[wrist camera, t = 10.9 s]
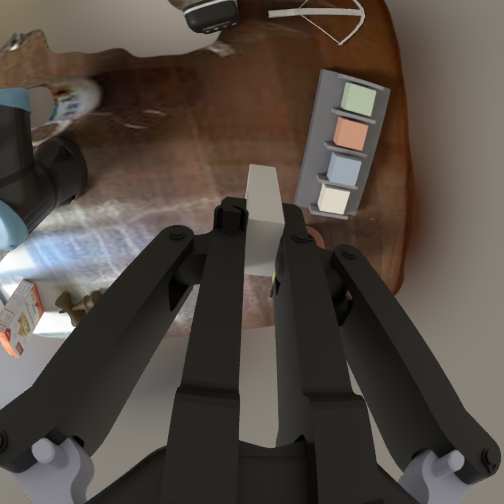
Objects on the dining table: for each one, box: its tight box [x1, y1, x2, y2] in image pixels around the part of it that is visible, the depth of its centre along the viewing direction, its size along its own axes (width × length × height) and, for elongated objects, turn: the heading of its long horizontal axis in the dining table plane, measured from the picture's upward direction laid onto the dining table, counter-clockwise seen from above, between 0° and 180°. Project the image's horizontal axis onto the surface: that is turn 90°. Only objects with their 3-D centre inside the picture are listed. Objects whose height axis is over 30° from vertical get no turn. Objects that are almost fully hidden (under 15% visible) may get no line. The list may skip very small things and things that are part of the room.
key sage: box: [341, 83, 376, 116], centre depth 38 cm, size 4×4×2 cm
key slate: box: [327, 152, 362, 186], centre depth 44 cm, size 4×4×2 cm
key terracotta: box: [333, 117, 368, 151], centre depth 41 cm, size 4×4×2 cm
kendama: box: [55, 291, 102, 327], centre depth 69 cm, size 6×10×20 cm
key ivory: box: [317, 183, 350, 214], centre depth 48 cm, size 4×4×2 cm
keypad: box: [294, 69, 391, 219], centre depth 44 cm, size 12×25×5 cm, turn 172°
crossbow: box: [268, 0, 365, 45], centre depth 32 cm, size 16×13×2 cm
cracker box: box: [0, 280, 44, 358], centre depth 63 cm, size 14×6×21 cm, turn 163°
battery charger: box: [183, 0, 240, 34], centre depth 29 cm, size 7×4×11 cm, turn 105°
